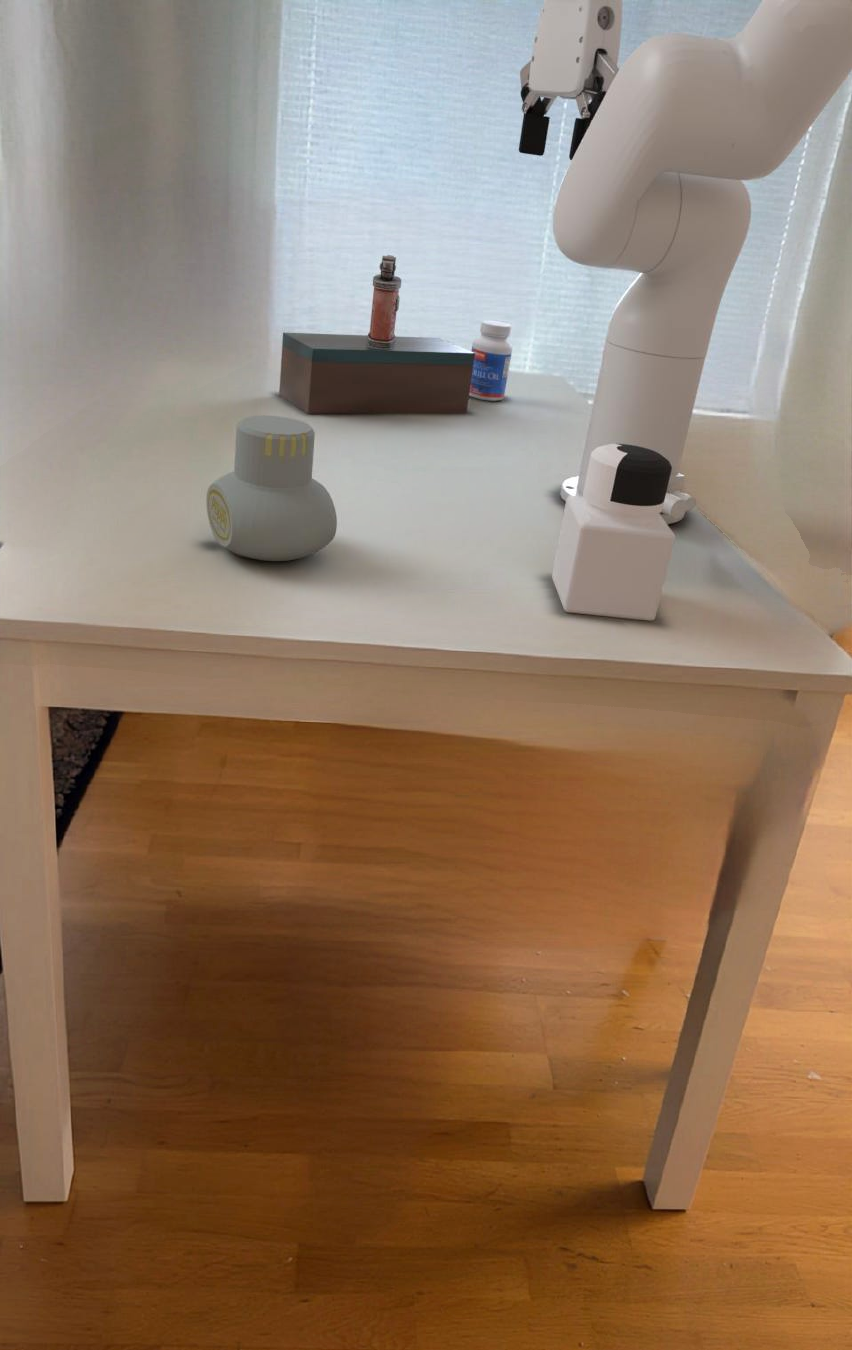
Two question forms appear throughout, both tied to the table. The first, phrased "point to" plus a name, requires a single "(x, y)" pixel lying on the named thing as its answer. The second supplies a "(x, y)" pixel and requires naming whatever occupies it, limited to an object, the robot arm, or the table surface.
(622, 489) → the medicine bottle
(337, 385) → the brown rectangular block
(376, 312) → the red smoke grenade
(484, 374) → the pill bottle
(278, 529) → the air freshener
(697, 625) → the table surface
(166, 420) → the table surface
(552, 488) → the table surface
